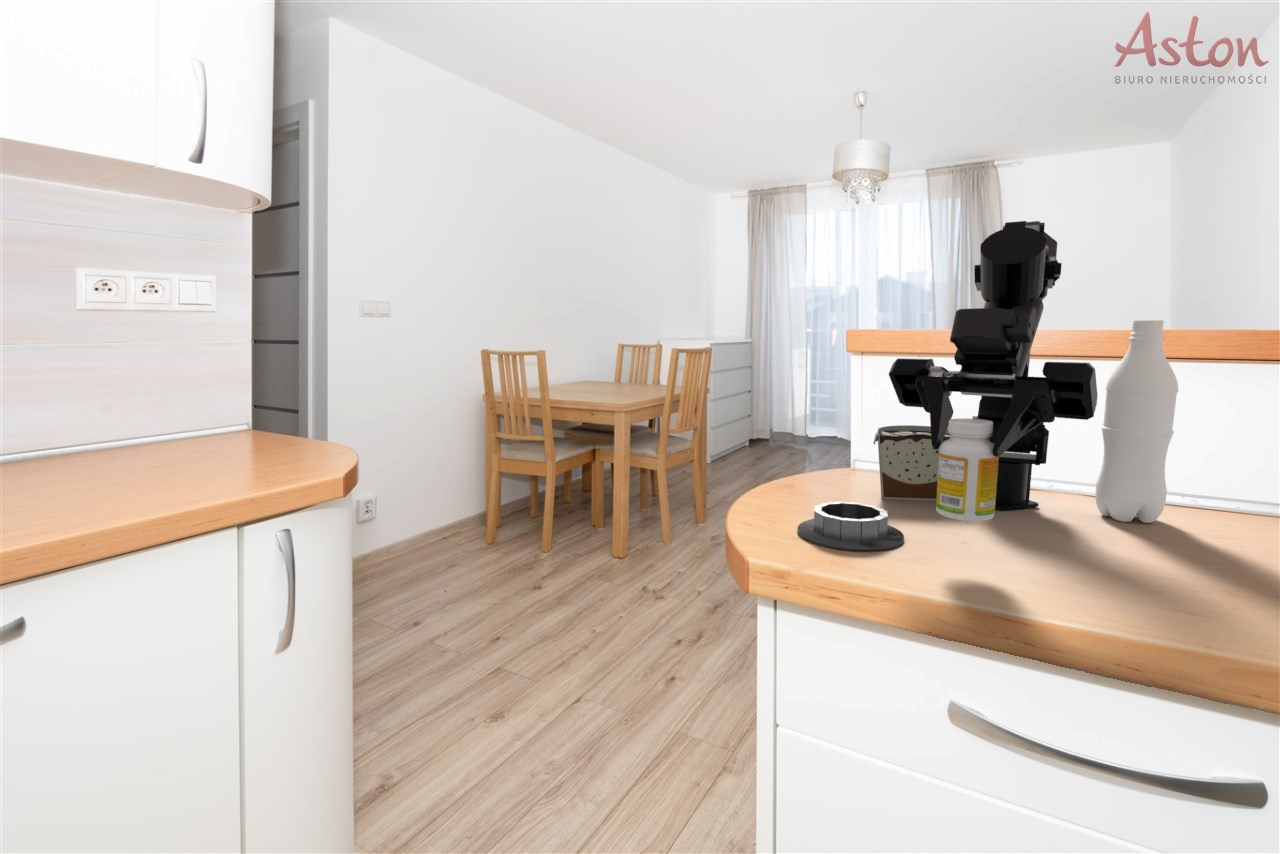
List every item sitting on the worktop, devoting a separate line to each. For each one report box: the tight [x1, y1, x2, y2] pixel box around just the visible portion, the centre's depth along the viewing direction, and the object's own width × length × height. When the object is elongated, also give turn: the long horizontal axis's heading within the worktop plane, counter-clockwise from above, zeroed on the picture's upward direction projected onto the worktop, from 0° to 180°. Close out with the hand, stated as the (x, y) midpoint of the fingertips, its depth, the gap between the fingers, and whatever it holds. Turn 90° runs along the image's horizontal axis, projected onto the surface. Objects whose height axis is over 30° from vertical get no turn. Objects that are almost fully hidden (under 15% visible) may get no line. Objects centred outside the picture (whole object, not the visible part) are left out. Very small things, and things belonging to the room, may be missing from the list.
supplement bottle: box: [935, 417, 999, 522], centre depth 65 cm, size 5×5×10 cm
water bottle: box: [1094, 319, 1179, 524], centre depth 80 cm, size 7×7×25 cm
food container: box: [872, 424, 950, 502], centre depth 94 cm, size 12×6×10 cm, turn 81°
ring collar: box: [797, 501, 905, 552], centre depth 76 cm, size 12×12×3 cm
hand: (963, 450), depth 64 cm, fingers closed on supplement bottle, 5 cm apart
